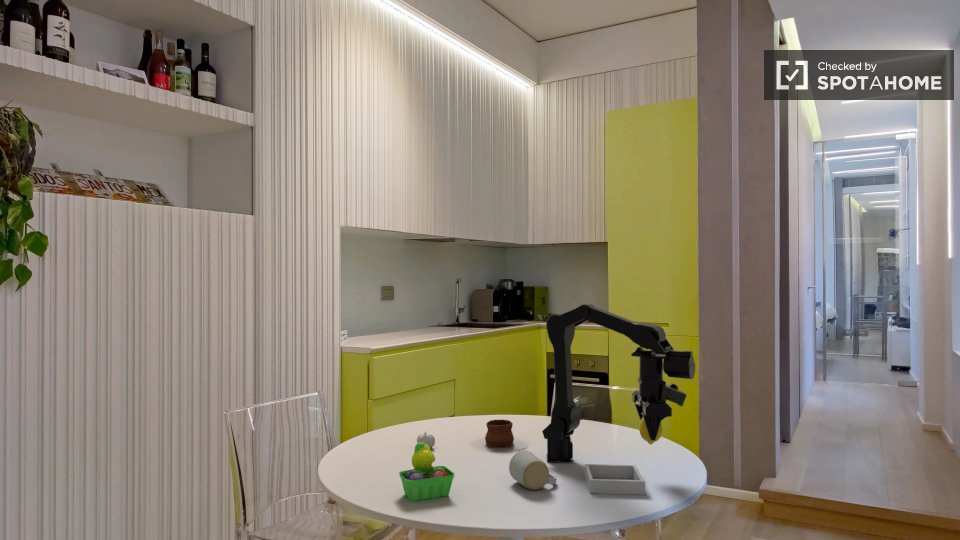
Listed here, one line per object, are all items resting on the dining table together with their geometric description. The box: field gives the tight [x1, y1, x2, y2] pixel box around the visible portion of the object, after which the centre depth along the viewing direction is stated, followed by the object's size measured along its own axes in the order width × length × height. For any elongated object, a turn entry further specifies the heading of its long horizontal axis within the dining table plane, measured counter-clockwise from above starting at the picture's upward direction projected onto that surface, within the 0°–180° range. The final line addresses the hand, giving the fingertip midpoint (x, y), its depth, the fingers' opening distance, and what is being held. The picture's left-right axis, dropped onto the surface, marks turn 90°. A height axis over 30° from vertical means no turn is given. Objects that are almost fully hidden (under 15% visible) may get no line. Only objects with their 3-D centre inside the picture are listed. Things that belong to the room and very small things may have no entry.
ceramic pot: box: [484, 419, 527, 452], centre depth 187 cm, size 18×18×7 cm
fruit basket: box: [398, 442, 455, 502], centre depth 144 cm, size 11×9×11 cm
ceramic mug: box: [508, 449, 557, 491], centre depth 150 cm, size 11×8×8 cm
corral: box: [584, 463, 646, 496], centre depth 150 cm, size 13×13×3 cm
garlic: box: [416, 430, 436, 449], centre depth 182 cm, size 6×5×5 cm
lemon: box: [638, 418, 663, 445], centre depth 157 cm, size 6×6×8 cm
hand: (650, 437), depth 157 cm, fingers closed on lemon, 5 cm apart
